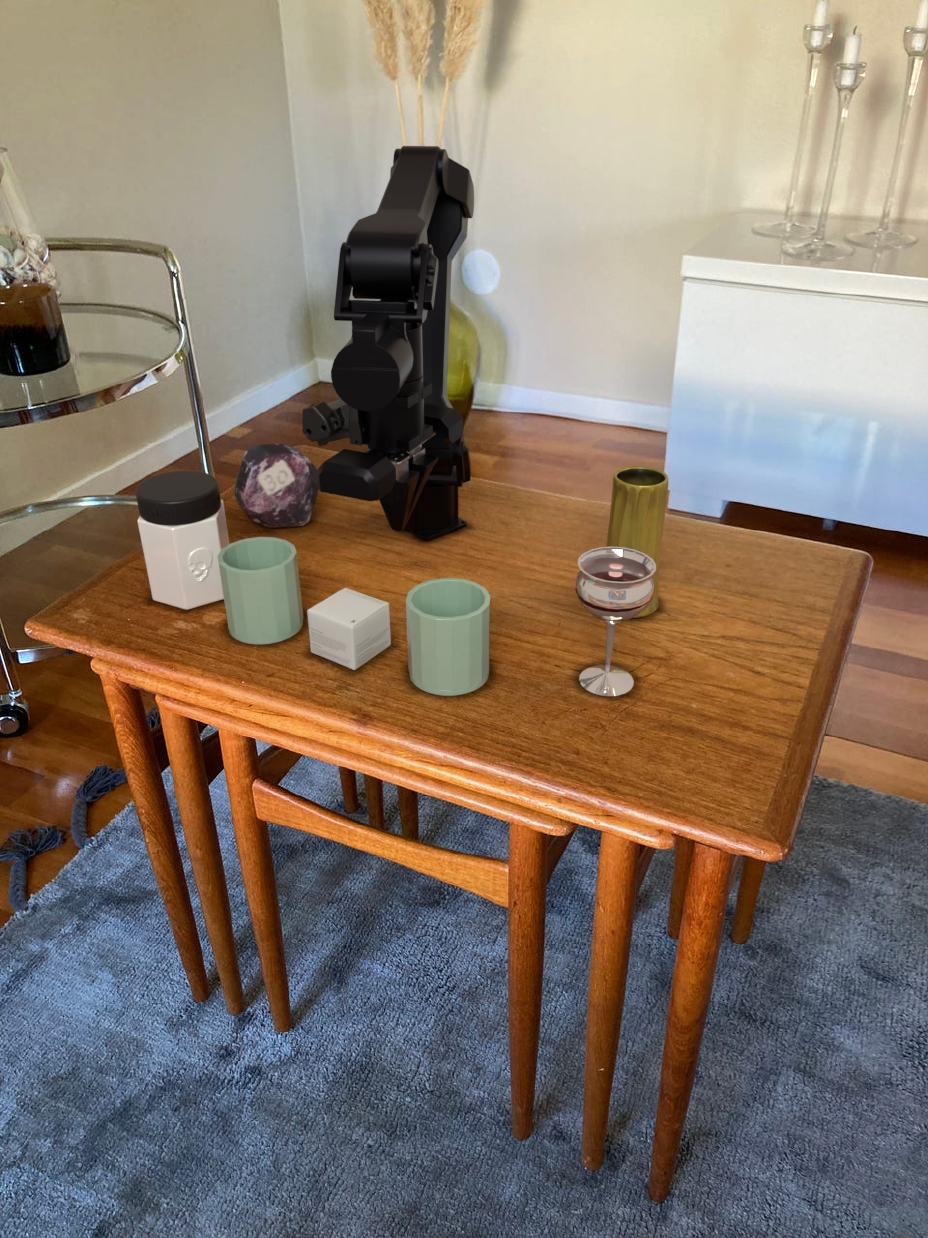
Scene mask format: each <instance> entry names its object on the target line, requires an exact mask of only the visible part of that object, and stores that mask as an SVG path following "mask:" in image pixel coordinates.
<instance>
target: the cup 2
mask: <svg viewBox="0 0 928 1238" xmlns="http://www.w3.org/2000/svg"><path fill="white" fill-rule="evenodd" d="M491 598H492V597H491V594H490V593H489V591H488V590H487V588H486V587H485V586H483V585H481V584H479V583H477V582H476V581H472V580H468V579H464V578H460V577H459V578H457V577H441V578H435V579H429V580H426V581H424V582H421V583H419V584H416V585H415V586H414V587H413V588H411V589H409V591H408V592H407V595H406V598H405V613H406V614H405V616H406V619H405V620H406V643H407V668H408V674H409V679H410V680H411V682H412V683H413V685H414V686H415V687H416V688H418V689H419V690H421V691H423V692H425V693H428V694H431V695H435V696H436V695H437V696H444V697H445V696H446V697H455V696H461V695H466V694H469V693H472V692H475V691H476V690H478V689H480V688H481V687H483V686H484V684H486V682H487V681H488V679H489V677H490V666H491V655H490V654H491V603H492V602H491V600H492V599H491Z"/></svg>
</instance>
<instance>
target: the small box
mask: <svg viewBox="0 0 928 1238" xmlns="http://www.w3.org/2000/svg"><path fill="white" fill-rule="evenodd" d="M306 614H307V615H306V616H307V624H308V634H309V643H310V644H309V646H310V653H312V654H314V655H316V656H319V657H321V658H324V659H326V660H329V661H332V662H334V663H335V664H339V665H340V666H343V667H346V668H348V669H350V670H352V671H356V670H357V669H359V668H360V667H362V666H363V665H365V664H366V663H368V662H370V660H372V659H374V658H375V657H376V656H378V655H379V654H380V653H382V652H384V651H385V650H386V649H387V648H390V646H391V644H392V639H391V637H392V636H391V617H390V614H391V613H390V602H387V601H385V600H381V599H379V598H377V597H374V596H370V595H367V594H364V593H361V592H359V591H357V590H354V589H351V588H349V587H344V588H342V589H340V590H337V591H336V592H335V593H333V594H332V595H330V596H329V597H327V598H325V599H323V600H322V601H320V602H317V604H314V605H313V606H312V607H310V608H308V609H307V610H306Z"/></svg>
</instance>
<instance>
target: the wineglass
mask: <svg viewBox="0 0 928 1238" xmlns="http://www.w3.org/2000/svg"><path fill="white" fill-rule="evenodd" d="M577 566H578V568H579V571H578V572H577V576H576V580H575V583H574V584H575V589H574V590H575V593H576V596H577V598H578V600H579V603H580V605H581V606H582V607H583V608H584V609H585V610H586V611H588V612H589V613H590V614H591V615H592V616H594V617H595V618H597V619H599V620H602V621H604V623H606V640H605V662H604V663H605V664H600V665H593V666H589V667H587V668H585V669H584V670H583V671H581V673H580V674H579V678H578V681H579V683H580V685H581V687H582V688H584V689H585V690H586V691H587V692H589V693H591V694H595V695H597V696H602V697H618V696H621V695H625V694H626V693H628V692H630V691H631V690H632V688H634V685H635V684H634V683H635V681H634V678H633V676H632V674H630V673H629V672H628V671H626V670H624V669H623V668H621V667H618V666H614V665H611V662H612V655H613V648H614V641H615V634H616V626H617V624H619V623H620V622H625V621H626V622H627V621H629V620H632V619H634V618H633V617H635V616H636V615H638V614H639V613H641V612H642V611H644V610H645V609H646V608H647V606H648V605H649V603H650V601H651V600H652V597H653V594H654V579H653V577H652V575H653V574H654V573H655V571H656V564H655V562H654V561H653V559H652V558H650V557H649V556H648V555H646V554H644V553H642V552H639V551H637V550H634V549H629V548H625V547H607V546H600V547H596V548H592V549H589V550H587V551H585V552H583V553H582V554H581V555H580V556H579V557H578V560H577Z"/></svg>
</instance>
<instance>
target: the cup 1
mask: <svg viewBox="0 0 928 1238" xmlns="http://www.w3.org/2000/svg"><path fill="white" fill-rule="evenodd" d="M217 558H218V565H219V571H220V578H221V584H222V591H223V598H224V599H223V605H224V610H225V617H226V624H227V629H228V633H229V635H230V636H231V637H232V638H233V639H234V640H236V641H238V642H241V643H244V644H248V645H270V644H276V643H279V642H282V641H286V640H288V639H291V638H292V637H294V636H295V635H296V634H298V633H299V632H300V631H301V629H302V627H303V626H304V607H303V600H302V590H301V579H300V571H299V570H300V569H299V561H298V552H297V549H296V546H295V545H294V544H293V543H292V542H290V541H288V540H287V539H283V538H279V537H275V536H255V537H247V538H243V539H239V540H237V541H234V542H231V543H229V545H228V546H226V547H225V548H223V549H222V550H221V551H220V553H219V554H218V556H217Z"/></svg>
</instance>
